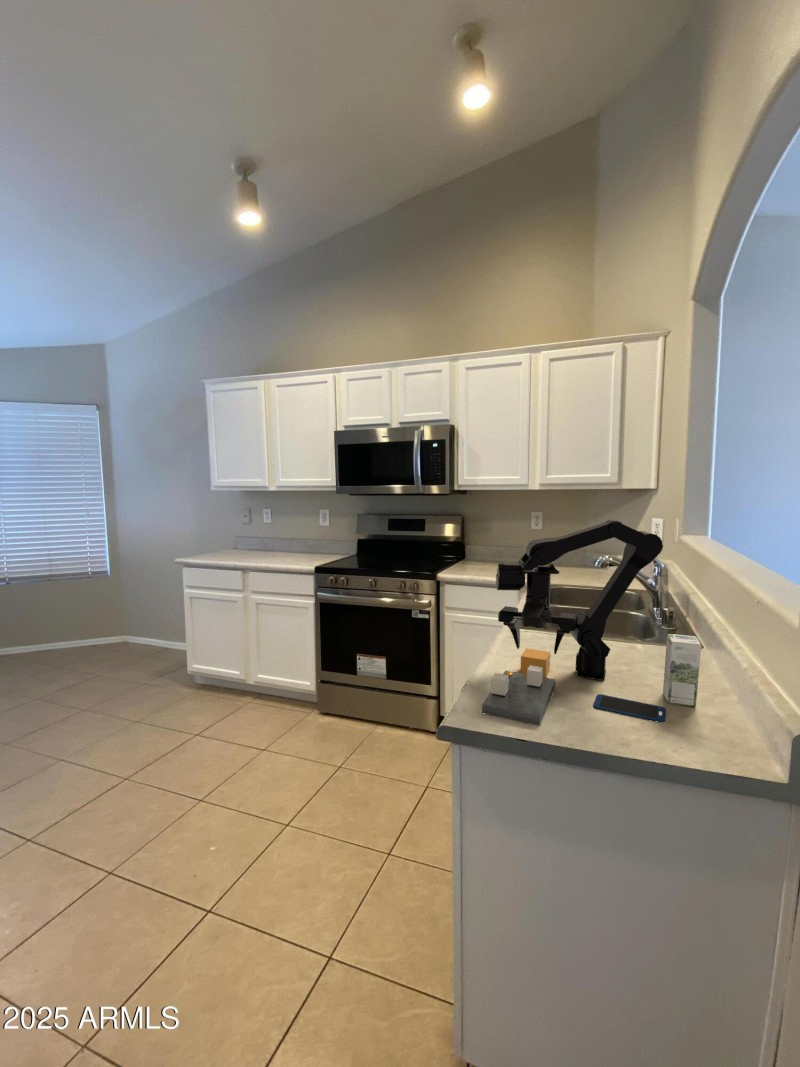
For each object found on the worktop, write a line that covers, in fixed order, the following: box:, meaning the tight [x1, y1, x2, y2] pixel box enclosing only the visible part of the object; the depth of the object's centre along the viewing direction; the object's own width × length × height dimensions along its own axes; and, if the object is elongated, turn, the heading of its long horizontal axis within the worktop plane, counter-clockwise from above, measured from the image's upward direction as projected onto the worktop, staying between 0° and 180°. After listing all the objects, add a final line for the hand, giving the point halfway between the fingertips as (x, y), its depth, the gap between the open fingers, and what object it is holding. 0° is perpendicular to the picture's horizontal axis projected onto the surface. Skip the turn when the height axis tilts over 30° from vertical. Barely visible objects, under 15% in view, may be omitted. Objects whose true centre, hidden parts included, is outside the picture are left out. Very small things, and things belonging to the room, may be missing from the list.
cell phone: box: [592, 693, 667, 723], centre depth 108 cm, size 7×14×1 cm, turn 61°
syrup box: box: [662, 633, 702, 707], centre depth 111 cm, size 6×6×14 cm
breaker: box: [490, 672, 509, 696], centre depth 110 cm, size 3×3×4 cm
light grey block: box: [527, 665, 543, 687], centre depth 115 cm, size 3×3×4 cm
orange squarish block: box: [519, 648, 551, 678], centre depth 127 cm, size 6×6×5 cm
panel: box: [481, 670, 556, 726], centre depth 112 cm, size 12×20×2 cm, turn 154°
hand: (536, 650), depth 126 cm, fingers open, 9 cm apart
